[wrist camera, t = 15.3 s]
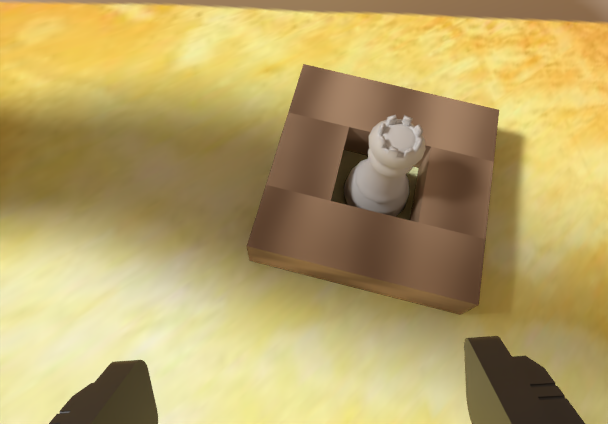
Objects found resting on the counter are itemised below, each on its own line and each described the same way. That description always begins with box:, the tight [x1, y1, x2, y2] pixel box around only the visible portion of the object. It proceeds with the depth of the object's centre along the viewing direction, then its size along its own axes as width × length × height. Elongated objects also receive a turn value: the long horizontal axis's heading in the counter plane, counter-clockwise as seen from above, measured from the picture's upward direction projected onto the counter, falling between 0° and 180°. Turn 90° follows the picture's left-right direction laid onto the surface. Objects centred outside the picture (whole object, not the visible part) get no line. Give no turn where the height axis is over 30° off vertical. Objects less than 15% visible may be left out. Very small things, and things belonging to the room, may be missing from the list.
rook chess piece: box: [344, 115, 426, 217], centre depth 30 cm, size 4×4×8 cm
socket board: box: [247, 64, 499, 314], centre depth 32 cm, size 14×14×3 cm
